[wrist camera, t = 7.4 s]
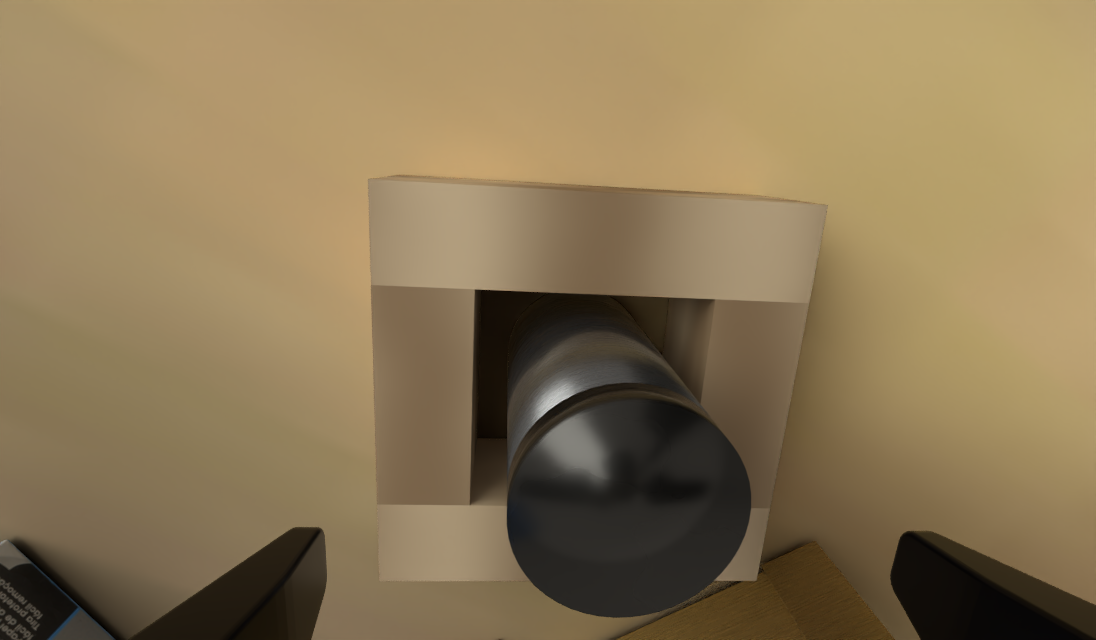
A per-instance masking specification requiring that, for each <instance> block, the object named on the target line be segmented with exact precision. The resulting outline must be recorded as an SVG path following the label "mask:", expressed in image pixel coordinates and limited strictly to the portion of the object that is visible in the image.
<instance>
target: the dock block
mask: <svg viewBox="0 0 1096 640" xmlns="http://www.w3.org/2000/svg"><path fill="white" fill-rule="evenodd" d="M368 197H369V233H370V268H371V304H372V339H373V375H374V410H375V446H376V482H377V517H378V553H379V581H530V580H529V579H528V578H527V576H526V575H525V574H524V572H523V571H522V569H521V568H520V566H519V565H518V563H517V560H516V558H515V556H514V554H513V552H512V549H511V545H510V542H509V538H508V531H507V439H490V438H477V425H478V387H479V349H480V311H481V290H503V291H527V292H551V293H575V294H599V295H623V296H647V297H669V304H668V313H667V321H666V329H665V338H664V346H663V354H662V356H663V357H664V358H665V360H666V361H667V362H668V364H669V365H670V366H671V367H672V369H673V370H674V371H675V372H676V374H677V375H678V376H679V378H680V379H681V380H682V381H683V383H684V384H685V385H686V386H687V388H688V389H689V390H690V391H691V393H692V394H693V395H694V397H695V398H696V399H697V400H698V402H699V403H700V404H701V405H702V407H703V408H704V409H705V411H706V412H707V413H708V414H709V416H710V417H711V418H712V419H713V421H714V422H715V423H716V424H717V426H718V427H719V428H720V430H721V431H722V432H723V433H724V435H725V436H726V437H727V438H728V440H729V441H730V442H731V444H732V445H733V446H734V448H735V449H736V451H737V452H738V454H739V455H740V457H741V460H742V462H743V464H744V466H745V468H746V471H747V475H748V478H749V482H750V489H751V513H750V519H749V524H748V527H747V531H746V534H745V537H744V539H743V541H742V543H741V546H740V548H739V550H738V551H737V553H736V554H735V556H734V558H733V559H732V561H731V562H730V563H729V565H728V566H727V567H726V568H725V570H724V571H723V572H722V573H721V574H720V575H719V576H718V577H717V578H716V579H715V580H714V581H757V576H758V570H759V565H760V560H761V555H762V549H763V544H764V539H765V533H766V528H767V523H768V518H769V512H770V507H771V502H772V497H773V491H774V486H775V481H776V476H777V470H778V465H779V460H780V455H781V449H782V444H783V439H784V434H785V428H786V423H787V418H788V413H789V407H790V402H791V397H792V392H793V386H794V381H795V376H796V371H797V365H798V360H799V355H800V350H801V344H802V339H803V334H804V329H805V323H806V318H807V313H808V308H809V302H810V297H811V292H812V286H813V281H814V276H815V271H816V265H817V260H818V255H819V250H820V244H821V239H822V234H823V229H824V223H825V218H826V213H827V208H828V205H824V204H817V203H809V202H802V201H795V200H788V199H781V198H773V197H766V196H758V195H740V194H723V193H705V192H688V191H671V190H653V189H636V188H618V187H601V186H584V185H566V184H549V183H531V182H514V181H496V180H479V179H462V178H444V177H427V176H409V175H395V176H387V177H380V178H372V179H368Z"/></svg>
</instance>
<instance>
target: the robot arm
mask: <svg viewBox="0 0 1096 640" xmlns="http://www.w3.org/2000/svg"><path fill="white" fill-rule="evenodd" d="M890 579H891V585H892V588H893V590H894V592H895V594H896V596H897V598H898V600H899V601H900V603H901V605H902V607H903V608H904V610H905V612H906V614H907V616H908V617H909V619H910V621H911V623H912V624H913V626H914V628H915V630H916V632H917V633H918V635H919V637H920V639H921V640H1096V605H1094V604H1092V603H1090V602H1087V601H1085V600H1083V599H1081V598H1078V597H1076V596H1074V595H1072V594H1070V593H1067V592H1065V591H1063V590H1061V589H1059V588H1056V587H1054V586H1052V585H1050V584H1048V583H1045V582H1043V581H1041V580H1039V579H1036V578H1034V577H1032V576H1030V575H1028V574H1025V573H1023V572H1021V571H1019V570H1017V569H1014V568H1012V567H1010V566H1008V565H1006V564H1003V563H1001V562H999V561H997V560H994V559H992V558H990V557H988V556H986V555H983V554H981V553H979V552H977V551H975V550H972V549H970V548H968V547H966V546H964V545H961V544H959V543H957V542H955V541H952V540H950V539H948V538H946V537H944V536H941V535H939V534H937V533H934V532H931V531H907V532H905V533H903V534H902V536H901V537H900V539H899V543H898V547H897V550H896V554H895V558H894V562H893V566H892V569H891V574H890ZM326 582H327V567H326V549H325V535H324V532H323V530H322V529H321V528H319V527H295V528H292V529H290V530H289V531H287V532H286V533H284V534H283V535H281V536H280V537H278V538H277V539H275V540H274V541H272V542H271V543H270V544H268V545H267V546H265V547H264V548H262V549H261V550H259V551H258V552H256V553H255V554H253V555H252V556H250V557H249V558H247V559H246V560H245V561H243V562H242V563H240V564H239V565H237V566H236V567H234V568H233V569H231V570H230V571H228V572H227V573H225V574H224V575H222V576H221V577H220V578H218V579H217V580H215V581H214V582H212V583H211V584H209V585H208V586H206V587H205V588H203V589H202V590H200V591H199V592H197V593H196V594H195V595H193V596H192V597H190V598H189V599H187V600H186V601H184V602H183V603H181V604H180V605H178V606H177V607H175V608H174V609H172V610H171V611H170V612H168V613H167V614H165V615H164V616H162V617H161V618H159V619H158V620H156V621H155V622H153V623H152V624H150V625H149V626H147V627H146V628H145V629H143V630H142V631H140V632H139V633H137V634H136V635H134V636H133V637H131V638H130V639H128V640H311V638H312V635H313V631H314V628H315V624H316V621H317V617H318V614H319V610H320V607H321V603H322V600H323V596H324V593H325V588H326Z"/></svg>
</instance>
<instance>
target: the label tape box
mask: <svg viewBox="0 0 1096 640" xmlns="http://www.w3.org/2000/svg"><path fill="white" fill-rule="evenodd" d="M0 640H115V639H114V638H113V637H112V636H111V635H110V634H109V633H108V632H107V631H106V630H105V629H103V628H102V627H101V626H100V625H99V624H98V623H97V622H96V621H95V620H94V619H92V618H91V617H90V616H89V615H88V614H87V613H86V612H85V611H84V610H83V609H82V608H81V607H80V606H79V605H78V604H77V603H75V602H74V601H73V600H72V599H71V598H70V597H69V596H68V595H67V594H66V593H65V592H64V591H62V590H61V589H60V588H59V587H58V586H57V585H56V584H55V583H54V582H53V581H52V580H51V579H50V578H49V577H47V576H46V575H45V574H44V573H43V572H42V571H41V570H40V569H39V568H38V567H37V566H36V565H35V564H33V563H32V562H31V561H30V560H29V559H28V558H27V557H26V556H25V555H24V554H22V553H21V552H20V551H19V550H18V549H17V548H16V547H15V546H14V545H13V544H12V543H11V542H10V541H9V540H4V541H2V542H1V543H0Z"/></svg>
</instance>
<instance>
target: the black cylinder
mask: <svg viewBox="0 0 1096 640" xmlns="http://www.w3.org/2000/svg"><path fill="white" fill-rule="evenodd" d="M750 513H751V489H750V482H749V478H748V475H747V471H746V468H745V466H744V464H743V462H742V460H741V457H740V455H739V454H738V452H737V451H736V449H735V448H734V446H733V445H732V444H731V442H730V441H729V440H728V438H727V437H726V436H725V435H724V433H723V432H722V431H721V430H720V428H719V427H718V426H717V424H716V423H715V422H714V421H713V419H712V418H711V417H710V416H709V414H708V413H707V412H706V411H705V409H704V408H703V407H702V405H701V404H700V403H699V402H698V400H697V399H696V398H695V397H694V395H693V394H692V393H691V391H690V390H689V389H688V388H687V386H686V385H685V384H684V383H683V381H682V380H681V379H680V378H679V376H678V375H677V374H676V372H675V371H674V370H673V369H672V367H671V366H670V365H669V364H668V362H667V361H666V360H665V358H664V357H663V356H662V355H661V353H660V352H659V351H658V350H657V348H656V347H655V346H654V345H653V343H652V342H651V341H650V339H649V338H648V337H647V336H646V334H645V333H644V332H643V331H642V329H641V328H640V327H639V325H638V324H637V323H636V322H635V320H634V319H633V318H632V317H631V315H630V314H629V313H628V312H627V310H626V309H625V308H624V307H623V306H622V305H621V304H620V303H618V302H617V301H616V300H614V299H613V298H611V297H610V296H608V295H599V294H575V293H549V294H547V295H545V296H543V297H541V298H539V299H538V300H536V301H535V302H534V303H532V304H531V305H530V306H529V307H528V308H527V309H526V310H525V311H524V312H523V313H522V314H521V316H520V317H519V319H518V320H517V322H516V323H515V325H514V328H513V330H512V332H511V335H510V339H509V344H508V391H507V531H508V538H509V542H510V545H511V549H512V552H513V554H514V556H515V558H516V560H517V563H518V565H519V566H520V568H521V569H522V571H523V572H524V574H525V575H526V576H527V578H528V579H529V580H530V581H531V582H532V583H533V584H534V585H535V586H536V587H537V588H538V589H539V590H540V591H542V592H543V593H544V594H545V595H547V596H548V597H550V598H551V599H553V600H554V601H556V602H558V603H560V604H562V605H564V606H566V607H568V608H570V609H573V610H576V611H579V612H582V613H586V614H591V615H596V616H603V617H634V616H641V615H647V614H651V613H655V612H659V611H662V610H665V609H668V608H670V607H673V606H675V605H677V604H680V603H682V602H684V601H686V600H688V599H689V598H691V597H693V596H694V595H696V594H697V593H699V592H700V591H702V590H703V589H704V588H706V587H707V586H708V585H709V584H711V583H712V582H713V581H714V580H715V579H716V578H717V577H718V576H719V575H720V574H721V573H722V572H723V571H724V570H725V568H726V567H727V566H728V565H729V563H730V562H731V561H732V559H733V558H734V556H735V554H736V553H737V551H738V550H739V548H740V546H741V543H742V541H743V539H744V537H745V534H746V531H747V527H748V524H749V519H750Z"/></svg>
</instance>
